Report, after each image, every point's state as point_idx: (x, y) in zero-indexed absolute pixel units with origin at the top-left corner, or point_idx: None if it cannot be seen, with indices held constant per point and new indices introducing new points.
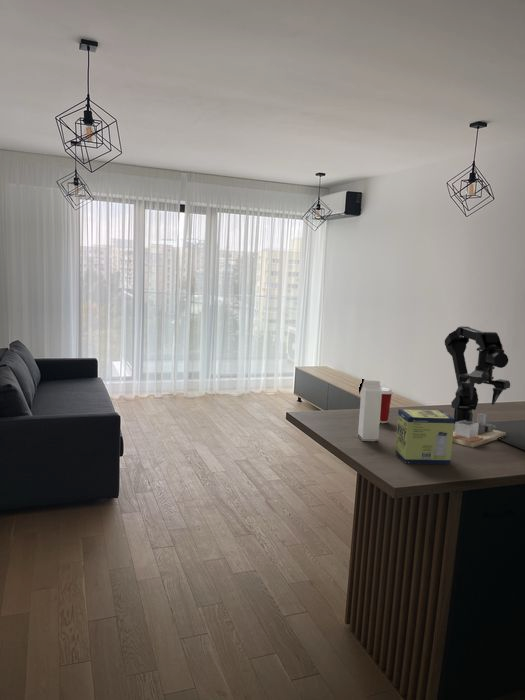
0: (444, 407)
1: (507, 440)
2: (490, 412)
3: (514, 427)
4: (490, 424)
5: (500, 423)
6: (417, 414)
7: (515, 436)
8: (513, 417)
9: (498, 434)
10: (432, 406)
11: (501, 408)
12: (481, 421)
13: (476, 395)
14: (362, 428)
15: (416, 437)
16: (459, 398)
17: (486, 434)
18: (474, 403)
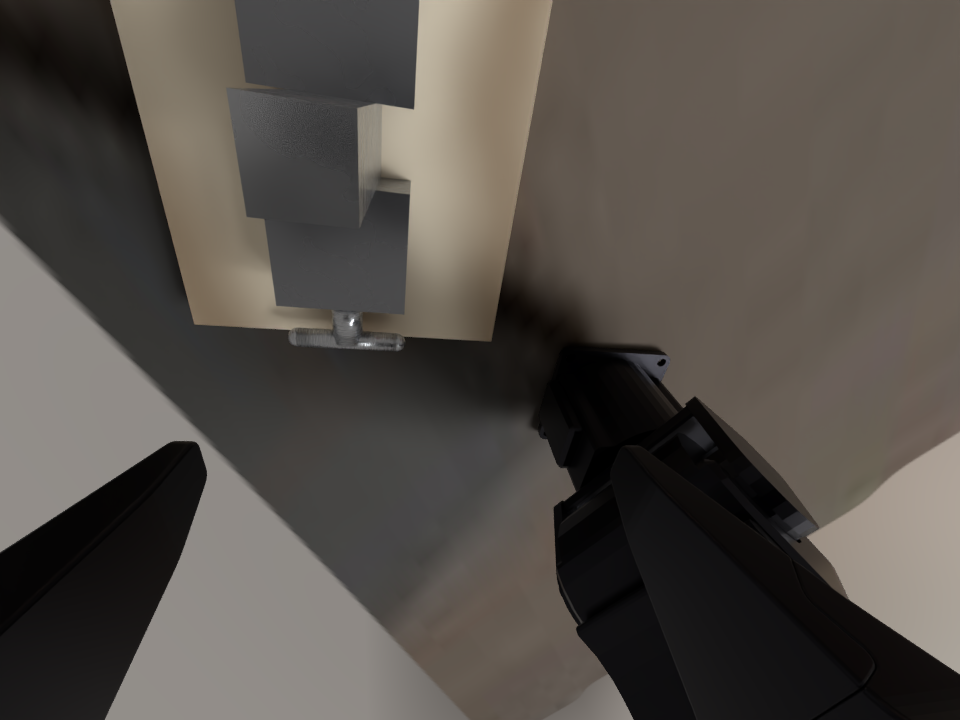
0: None
1: (92, 180)
2: (532, 632)
3: (326, 533)
4: (298, 290)
5: (418, 540)
6: None
7: (172, 367)
8: (426, 641)
9: (171, 189)
10: None
11: (517, 686)
12: (289, 91)
13: (598, 633)
14: None
15: None
16: (769, 481)
17: (231, 57)
18: (575, 527)
